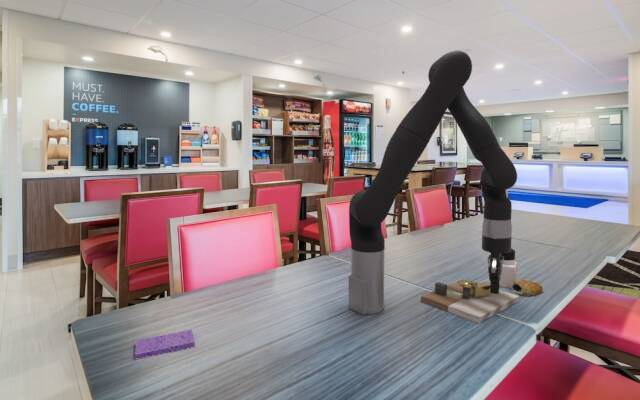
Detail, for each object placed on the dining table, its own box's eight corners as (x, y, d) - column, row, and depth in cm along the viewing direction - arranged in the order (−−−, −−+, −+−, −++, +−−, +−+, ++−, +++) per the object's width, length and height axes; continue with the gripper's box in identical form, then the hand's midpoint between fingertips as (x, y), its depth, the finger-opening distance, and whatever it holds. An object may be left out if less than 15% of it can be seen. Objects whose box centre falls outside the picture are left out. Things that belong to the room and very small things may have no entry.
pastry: (530, 286, 120) (531, 275, 120) (548, 294, 114) (549, 282, 113) (507, 290, 117) (508, 278, 117) (524, 298, 111) (525, 286, 110)
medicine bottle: (516, 282, 124) (518, 247, 122) (514, 288, 118) (516, 252, 116) (492, 278, 128) (494, 244, 126) (489, 284, 122) (491, 249, 120)
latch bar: (465, 300, 105) (466, 285, 104) (456, 295, 108) (456, 281, 108) (494, 294, 109) (495, 279, 108) (484, 289, 112) (485, 275, 112)
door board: (478, 323, 95) (479, 304, 94) (420, 301, 109) (421, 285, 108) (518, 301, 108) (519, 284, 108) (462, 284, 122) (463, 269, 122)
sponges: (195, 349, 85) (194, 341, 85) (134, 362, 80) (133, 354, 80) (192, 335, 92) (192, 328, 91) (136, 346, 87) (135, 339, 86)
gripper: (485, 228, 112) (483, 283, 115) (479, 237, 101) (477, 298, 103) (512, 230, 109) (510, 287, 111) (510, 240, 97) (507, 303, 100)
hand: (494, 292), depth 107 cm, fingers closed
